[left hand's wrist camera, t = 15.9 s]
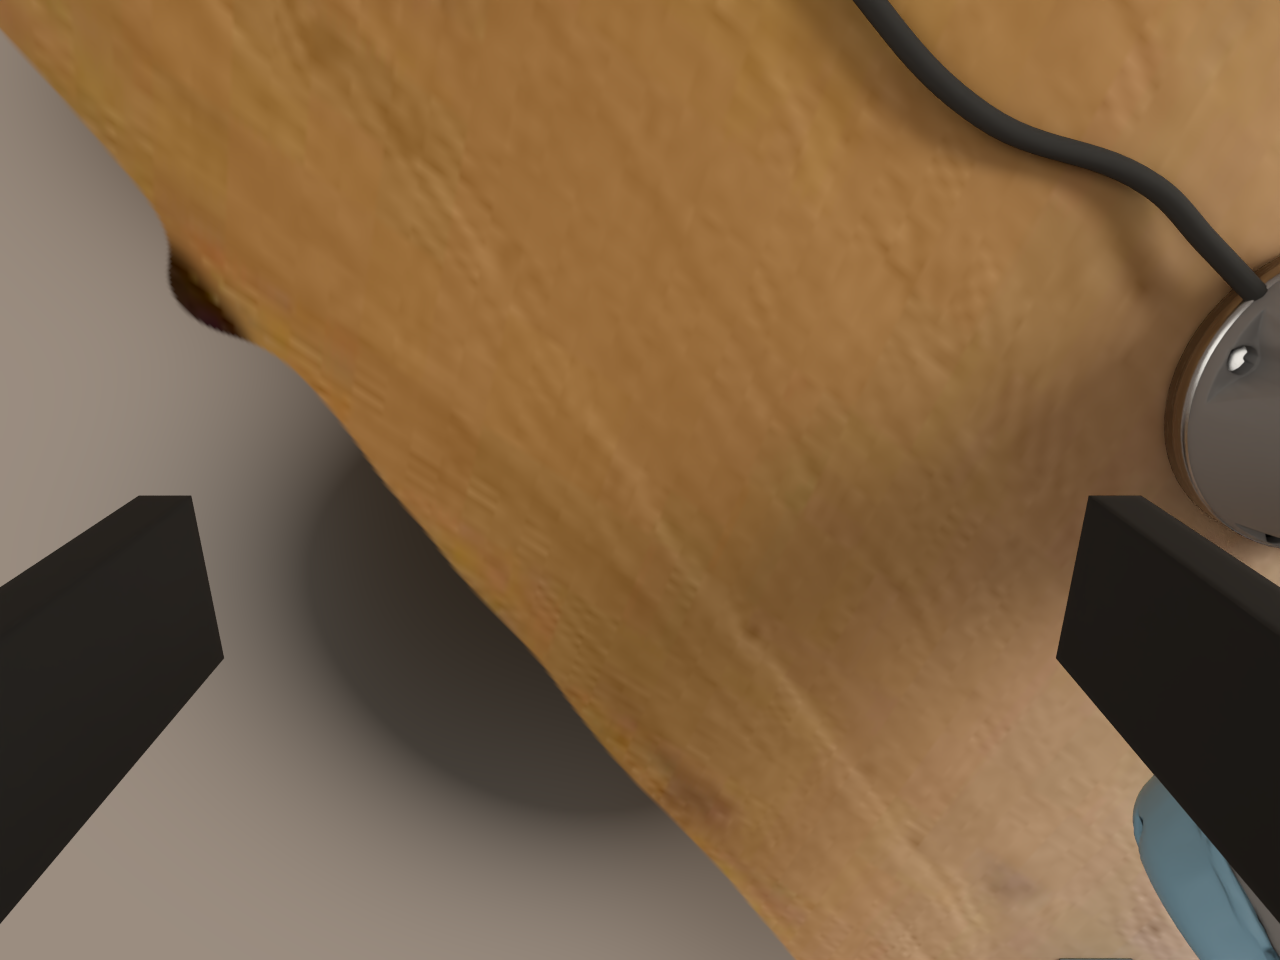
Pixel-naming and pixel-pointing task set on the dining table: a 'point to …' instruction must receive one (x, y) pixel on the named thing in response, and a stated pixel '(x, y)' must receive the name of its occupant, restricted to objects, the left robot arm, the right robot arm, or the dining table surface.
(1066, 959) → the block
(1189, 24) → the dining table surface
